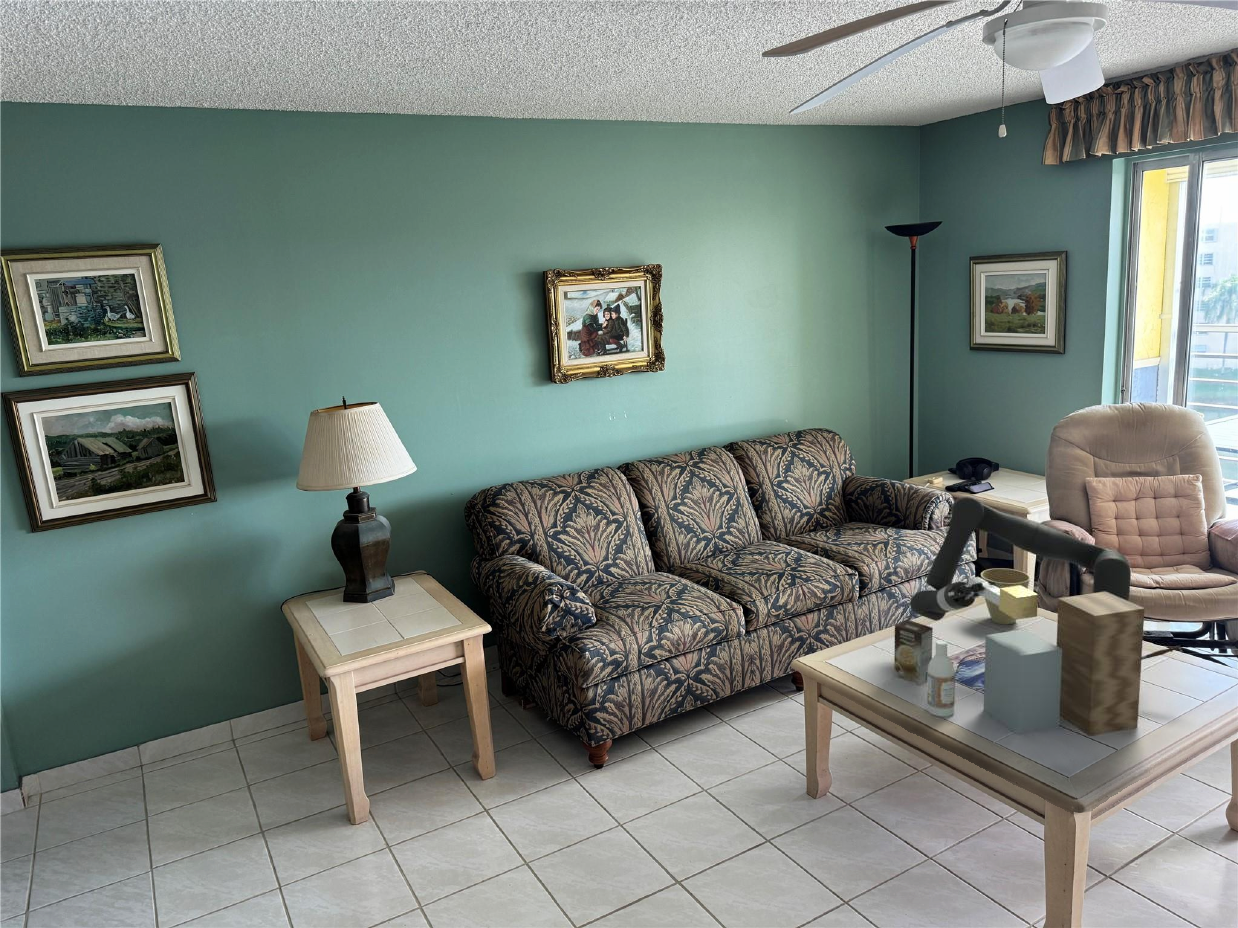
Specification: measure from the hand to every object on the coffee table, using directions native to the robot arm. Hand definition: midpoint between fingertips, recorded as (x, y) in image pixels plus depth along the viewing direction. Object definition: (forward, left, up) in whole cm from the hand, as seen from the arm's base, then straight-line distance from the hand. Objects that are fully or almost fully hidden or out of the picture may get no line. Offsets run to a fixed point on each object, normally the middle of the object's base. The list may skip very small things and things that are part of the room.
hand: (987, 585), depth 239 cm
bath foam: (+17, +5, -32) cm, 37 cm away
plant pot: (-37, -44, -32) cm, 66 cm away
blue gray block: (0, +15, -32) cm, 35 cm away
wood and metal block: (0, +5, -3) cm, 6 cm away
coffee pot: (-36, +14, -32) cm, 50 cm away
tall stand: (-17, +22, -32) cm, 42 cm away
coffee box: (+13, -16, -32) cm, 38 cm away
